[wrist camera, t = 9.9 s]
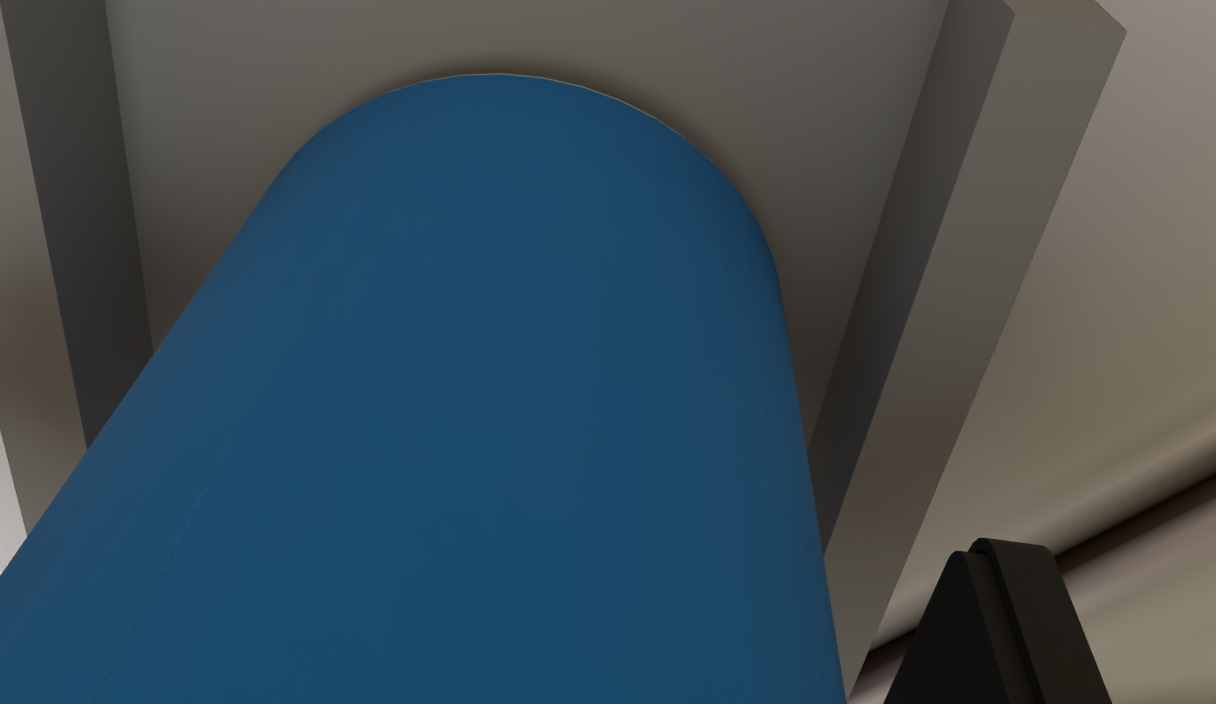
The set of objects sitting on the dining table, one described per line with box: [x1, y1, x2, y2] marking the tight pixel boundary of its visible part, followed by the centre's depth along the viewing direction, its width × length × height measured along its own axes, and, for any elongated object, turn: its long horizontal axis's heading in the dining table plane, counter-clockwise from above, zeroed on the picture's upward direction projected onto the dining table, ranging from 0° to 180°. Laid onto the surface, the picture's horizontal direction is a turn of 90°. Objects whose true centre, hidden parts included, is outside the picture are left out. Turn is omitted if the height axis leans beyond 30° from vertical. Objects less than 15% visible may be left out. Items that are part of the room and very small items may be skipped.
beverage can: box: [0, 73, 847, 704], centre depth 9 cm, size 6×6×12 cm
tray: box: [0, 0, 1127, 702], centre depth 17 cm, size 11×22×3 cm, turn 172°
